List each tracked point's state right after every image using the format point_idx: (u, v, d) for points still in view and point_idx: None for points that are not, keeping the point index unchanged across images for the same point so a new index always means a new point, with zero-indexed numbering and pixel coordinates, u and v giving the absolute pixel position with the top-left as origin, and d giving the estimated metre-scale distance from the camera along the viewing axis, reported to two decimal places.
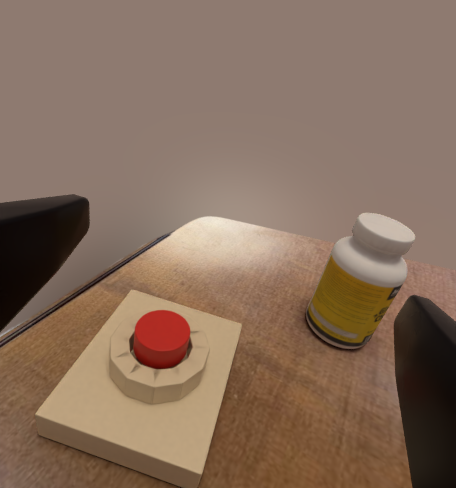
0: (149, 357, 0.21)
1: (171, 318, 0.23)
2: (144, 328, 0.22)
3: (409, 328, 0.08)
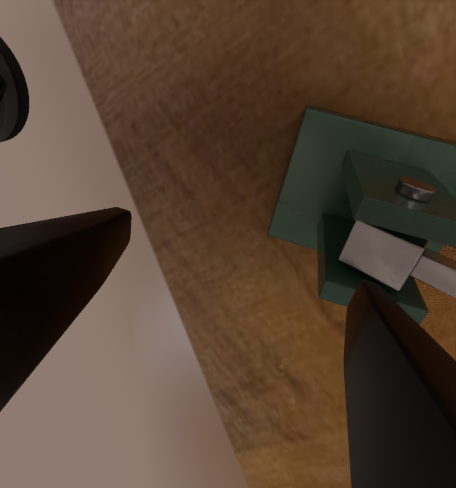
0: None
1: None
2: None
3: (357, 312, 0.08)
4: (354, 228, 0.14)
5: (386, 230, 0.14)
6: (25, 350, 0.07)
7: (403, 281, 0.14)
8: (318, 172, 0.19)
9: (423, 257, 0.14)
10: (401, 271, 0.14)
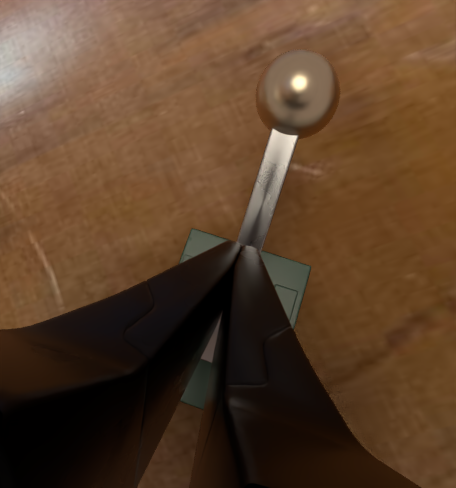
0: None
1: None
2: None
3: None
4: None
5: None
6: (173, 400, 0.07)
7: None
8: (194, 372, 0.20)
9: None
10: None
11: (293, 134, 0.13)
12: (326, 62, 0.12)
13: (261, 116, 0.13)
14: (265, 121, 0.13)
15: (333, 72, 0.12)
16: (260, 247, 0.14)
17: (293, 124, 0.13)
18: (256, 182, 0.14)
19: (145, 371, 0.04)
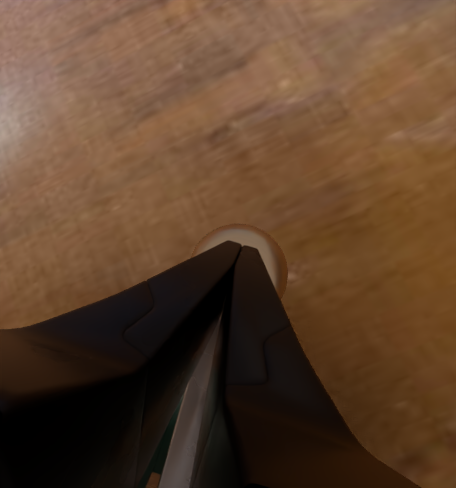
0: None
1: None
2: None
3: None
4: None
5: None
6: (172, 400, 0.07)
7: None
8: None
9: None
10: None
11: None
12: (266, 248, 0.10)
13: None
14: None
15: (276, 258, 0.10)
16: None
17: None
18: None
19: (145, 371, 0.04)
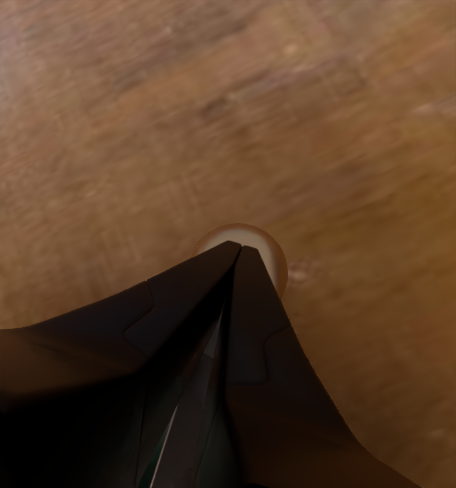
0: None
1: None
2: None
3: None
4: None
5: None
6: (172, 400, 0.07)
7: None
8: None
9: None
10: None
11: None
12: (269, 238, 0.10)
13: None
14: None
15: (278, 249, 0.10)
16: None
17: None
18: None
19: (145, 370, 0.04)
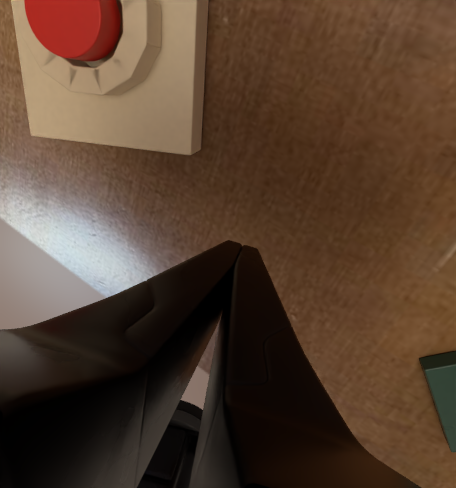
0: (75, 59, 0.16)
1: None
2: (39, 20, 0.15)
3: None
4: None
5: None
6: (172, 400, 0.07)
7: None
8: None
9: None
10: None
11: None
12: None
13: None
14: None
15: None
16: None
17: None
18: None
19: (145, 371, 0.04)
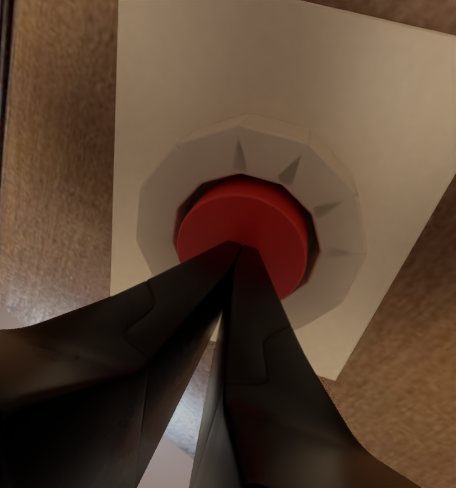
0: None
1: (253, 225, 0.09)
2: None
3: None
4: None
5: None
6: (172, 401, 0.07)
7: None
8: None
9: None
10: None
11: None
12: None
13: None
14: None
15: None
16: None
17: None
18: None
19: (145, 371, 0.04)
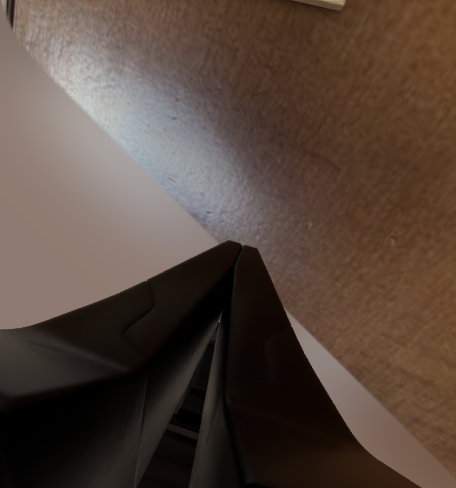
0: None
1: None
2: None
3: None
4: None
5: None
6: (173, 400, 0.07)
7: None
8: None
9: None
10: None
11: None
12: None
13: None
14: None
15: None
16: None
17: None
18: None
19: (145, 371, 0.04)
